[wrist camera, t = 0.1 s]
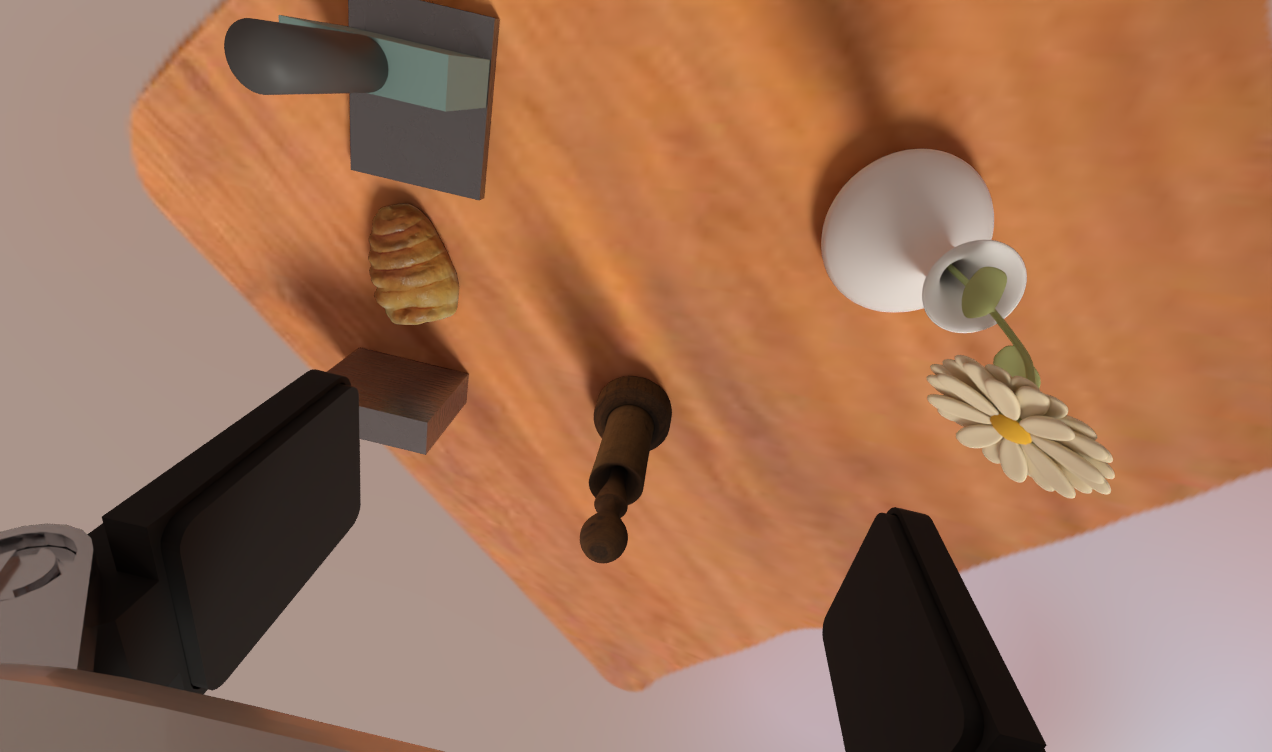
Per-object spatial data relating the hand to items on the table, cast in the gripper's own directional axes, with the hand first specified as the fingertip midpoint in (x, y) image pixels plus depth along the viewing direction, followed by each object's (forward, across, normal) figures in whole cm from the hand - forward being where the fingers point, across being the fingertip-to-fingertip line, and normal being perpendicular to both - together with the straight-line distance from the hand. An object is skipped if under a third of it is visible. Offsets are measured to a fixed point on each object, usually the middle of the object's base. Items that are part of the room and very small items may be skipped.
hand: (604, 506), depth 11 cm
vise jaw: (+35, +20, -4) cm, 41 cm away
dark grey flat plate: (+37, +20, -2) cm, 42 cm away
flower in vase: (+37, -16, 0) cm, 40 cm away
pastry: (+37, +20, +11) cm, 44 cm away
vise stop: (+37, +20, +21) cm, 47 cm away
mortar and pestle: (+37, 0, +19) cm, 42 cm away
